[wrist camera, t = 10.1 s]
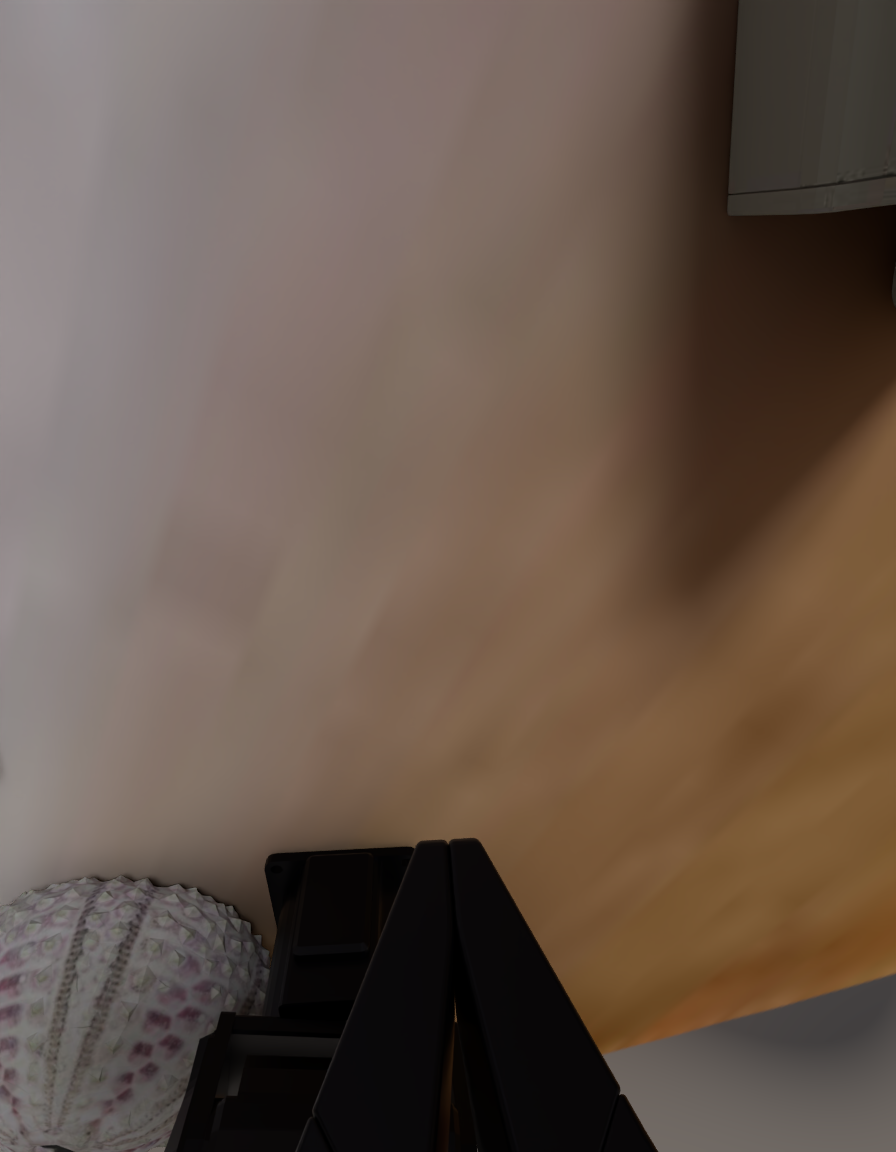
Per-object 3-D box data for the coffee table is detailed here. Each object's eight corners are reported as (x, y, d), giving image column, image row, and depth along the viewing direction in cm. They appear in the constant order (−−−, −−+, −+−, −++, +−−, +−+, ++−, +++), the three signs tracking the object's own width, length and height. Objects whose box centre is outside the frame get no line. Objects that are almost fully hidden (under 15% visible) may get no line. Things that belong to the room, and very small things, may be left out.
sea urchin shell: (341, 943, 31) (322, 1153, 24) (153, 1047, 35) (88, 1257, 28) (115, 796, 26) (6, 1011, 19) (-81, 936, 29) (-236, 1162, 22)
